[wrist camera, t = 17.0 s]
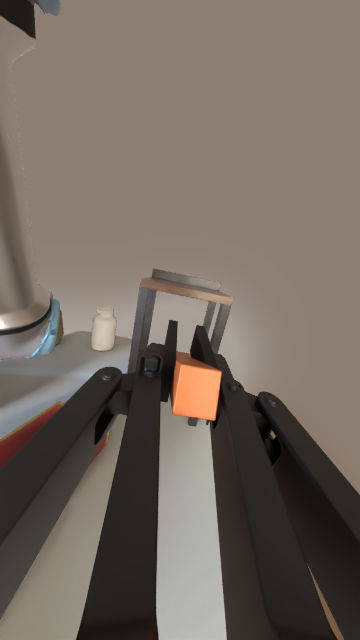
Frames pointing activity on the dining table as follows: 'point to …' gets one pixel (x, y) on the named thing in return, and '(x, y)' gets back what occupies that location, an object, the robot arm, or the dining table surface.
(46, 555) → the dining table surface
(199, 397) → the brush
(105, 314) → the pill bottle
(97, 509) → the dining table surface
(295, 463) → the robot arm
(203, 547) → the dining table surface
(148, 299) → the metal plant stand
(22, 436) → the hardcover book
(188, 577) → the dining table surface
